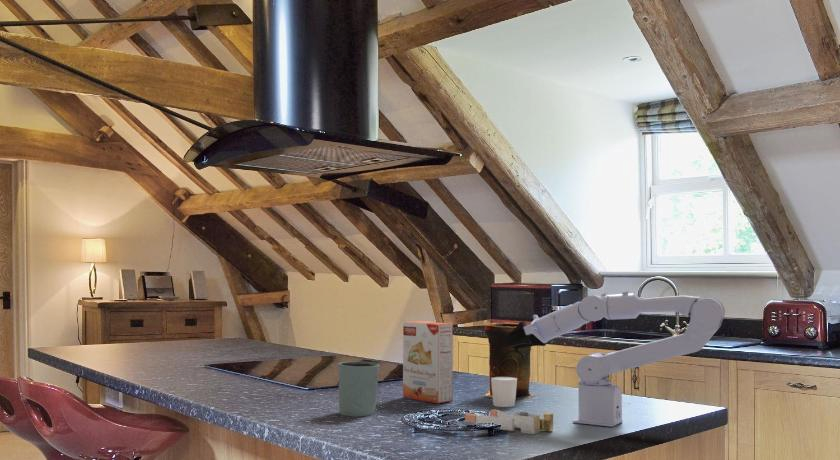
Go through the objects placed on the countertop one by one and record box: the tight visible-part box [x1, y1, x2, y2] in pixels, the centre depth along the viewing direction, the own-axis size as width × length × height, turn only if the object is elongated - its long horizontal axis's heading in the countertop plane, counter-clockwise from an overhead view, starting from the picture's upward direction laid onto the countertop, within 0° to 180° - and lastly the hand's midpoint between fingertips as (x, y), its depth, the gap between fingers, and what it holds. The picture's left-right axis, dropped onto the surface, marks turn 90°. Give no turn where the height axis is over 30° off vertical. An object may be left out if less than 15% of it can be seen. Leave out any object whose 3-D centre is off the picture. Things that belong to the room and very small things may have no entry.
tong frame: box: [464, 411, 541, 435], centre depth 176 cm, size 16×4×4 cm, turn 58°
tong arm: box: [489, 408, 521, 430], centre depth 181 cm, size 12×1×2 cm, turn 30°
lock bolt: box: [540, 412, 554, 432], centre depth 175 cm, size 5×2×4 cm, turn 58°
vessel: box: [483, 322, 536, 400], centre depth 226 cm, size 14×14×20 cm
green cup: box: [337, 361, 380, 417], centre depth 195 cm, size 10×10×12 cm
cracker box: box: [402, 320, 454, 405], centre depth 217 cm, size 14×6×21 cm, turn 43°
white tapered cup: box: [491, 377, 517, 408], centre depth 209 cm, size 7×7×7 cm
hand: (508, 344), depth 194 cm, fingers open, 7 cm apart
